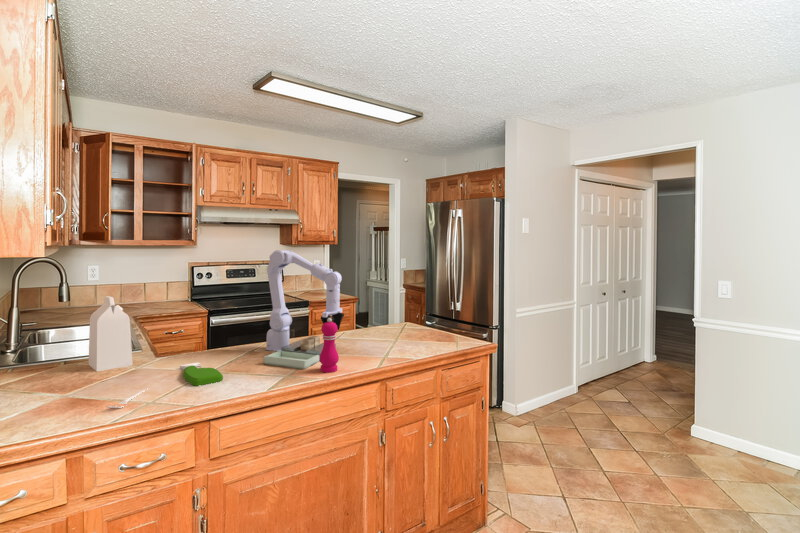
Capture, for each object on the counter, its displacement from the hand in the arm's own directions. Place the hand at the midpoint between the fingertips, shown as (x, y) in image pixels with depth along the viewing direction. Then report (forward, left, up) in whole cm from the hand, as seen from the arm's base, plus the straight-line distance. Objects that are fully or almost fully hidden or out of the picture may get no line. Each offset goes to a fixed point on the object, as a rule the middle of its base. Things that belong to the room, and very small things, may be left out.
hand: (332, 331), depth 189 cm
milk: (-69, -48, -10) cm, 84 cm away
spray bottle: (-30, -45, -10) cm, 55 cm away
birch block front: (-8, -7, -7) cm, 13 cm away
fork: (-31, -70, -10) cm, 78 cm away
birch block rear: (-8, -2, -7) cm, 11 cm away
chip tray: (-8, -19, -10) cm, 23 cm away
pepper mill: (+10, -22, -10) cm, 26 cm away
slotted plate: (-8, -6, -10) cm, 14 cm away
